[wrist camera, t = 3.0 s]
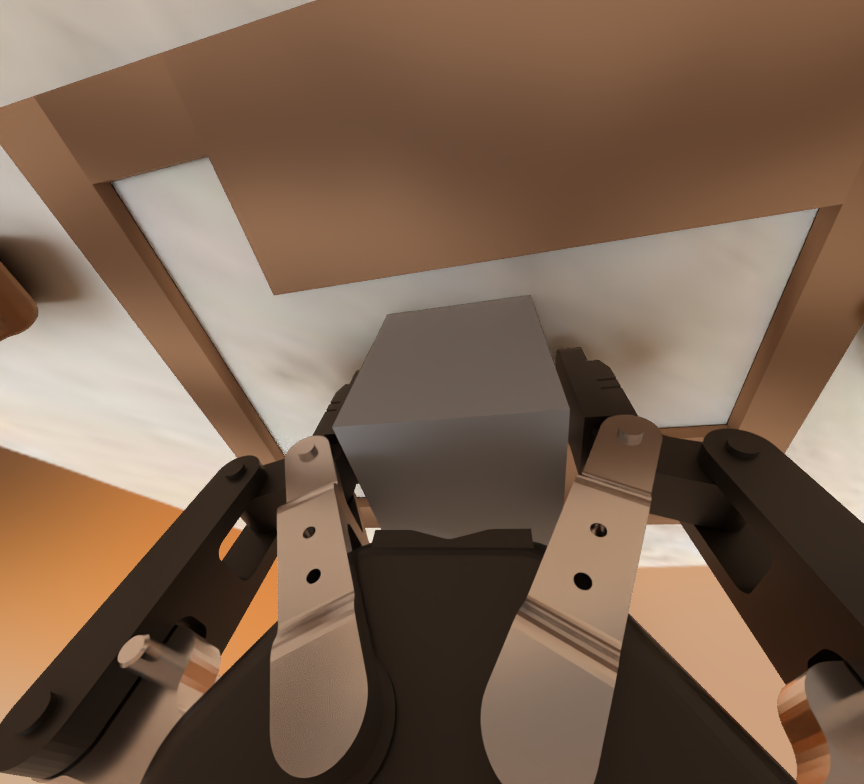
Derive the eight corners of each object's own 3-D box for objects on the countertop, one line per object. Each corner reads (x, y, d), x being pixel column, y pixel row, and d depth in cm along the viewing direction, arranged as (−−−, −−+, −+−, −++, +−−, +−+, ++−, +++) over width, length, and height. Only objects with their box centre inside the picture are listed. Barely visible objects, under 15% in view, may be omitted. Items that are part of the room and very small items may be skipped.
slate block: (387, 313, 12) (331, 427, 8) (530, 294, 11) (570, 409, 7) (416, 417, 15) (389, 546, 10) (532, 408, 14) (561, 546, 9)
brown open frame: (2, 116, 10) (-22, 115, 9) (1175, -274, 5) (1247, -317, 5) (295, 519, 21) (290, 528, 21) (734, 512, 17) (742, 523, 16)
